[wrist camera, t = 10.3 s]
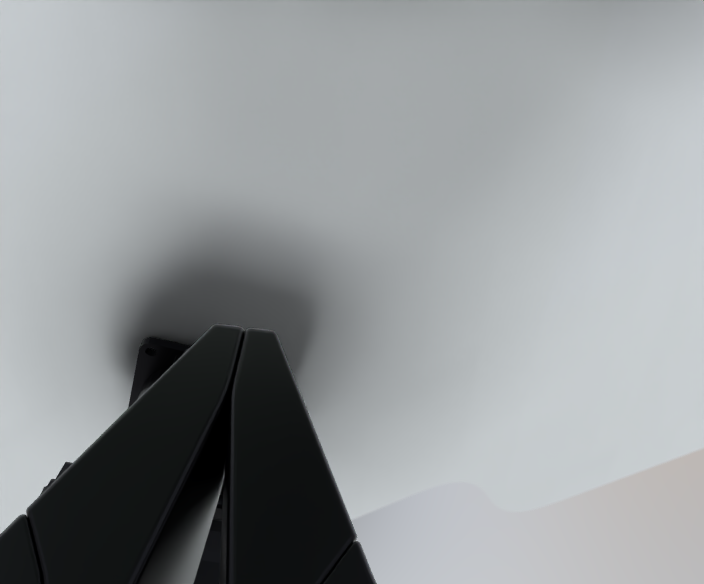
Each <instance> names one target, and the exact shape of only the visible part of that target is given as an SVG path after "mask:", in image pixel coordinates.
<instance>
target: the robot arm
mask: <svg viewBox="0 0 704 584" xmlns="http://www.w3.org/2000/svg"><path fill="white" fill-rule="evenodd" d="M150 348H154V349H155V350H152V349H150ZM26 513H27V516H26V515H24V514H22V515H20V516H18V517H17V518H16V519H15V520H14V521H13V522H12V523H11V524H10V525H9V526H8V527H7V528H6V529H5V530H4V531H3V532H2V533H1V534H0V584H377V583H376V581H375V579H374V577H373V574H372V572H371V569H370V567H369V564H368V562H367V559H366V557H365V554H364V552H363V549H362V547H361V544H360V543H359V542H358V541H356V538H357V535H356V532H355V530H354V527H353V525H352V522H351V520H350V517H349V515H348V512H347V509H346V507H345V504H344V502H343V499H342V497H341V494H340V492H339V489H338V487H337V484H336V482H335V479H334V477H333V474H332V472H331V469H330V467H329V464H328V461H327V459H326V456H325V454H324V451H323V449H322V446H321V444H320V441H319V439H318V436H317V434H316V431H315V429H314V426H313V424H312V421H311V419H310V416H309V413H308V411H307V408H306V406H305V403H304V401H303V398H302V396H301V393H300V391H299V388H298V386H297V383H296V381H295V378H294V376H293V373H292V371H291V368H290V366H289V363H288V360H287V358H286V355H285V353H284V350H283V348H282V345H281V343H280V340H279V338H278V335H277V334H276V332H274V331H273V330H266V329H258V328H248V329H246V331H244V329H243V328H242V327H240V326H234V325H225V324H215V325H213V326H211V327H210V328H209V329H208V330H207V331H206V332H205V333H204V334H203V335H202V336H201V337H200V338H199V339H198V340H197V341H196V342H195V343H194V344H193V345H192V346H187V345H183V344H179V343H175V342H171V341H167V340H162V339H158V338H153V337H149V338H146V339H144V340H143V342H142V344H141V346H140V349H139V354H138V359H137V365H136V370H135V375H134V381H133V386H132V391H131V397H130V402H129V407H128V409H127V410H126V411H125V412H124V413H123V414H122V415H121V416H120V417H119V418H118V419H117V420H116V421H115V422H114V423H113V424H112V425H111V426H110V427H109V428H108V429H107V430H106V431H105V432H104V433H103V434H102V435H101V436H100V437H99V438H98V439H97V440H96V441H95V442H94V443H93V444H92V445H91V446H90V447H89V448H88V449H87V450H86V451H85V452H84V453H83V454H82V455H81V456H80V457H79V458H78V459H77V460H76V461H75V462H74V463H70V462H66V463H65V464H64V466H63V467H62V469H61V471H60V472H59V474H58V476H57V478H56V479H51V481H50V482H49V484H48V486H46V487H44V489H43V491H42V493H41V495H40V496H39V497H38V498H37V499H36V500H35V501H34V502H33V503H32V504H31V505H30V506H29V507H28V508H27V510H26Z"/></svg>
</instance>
